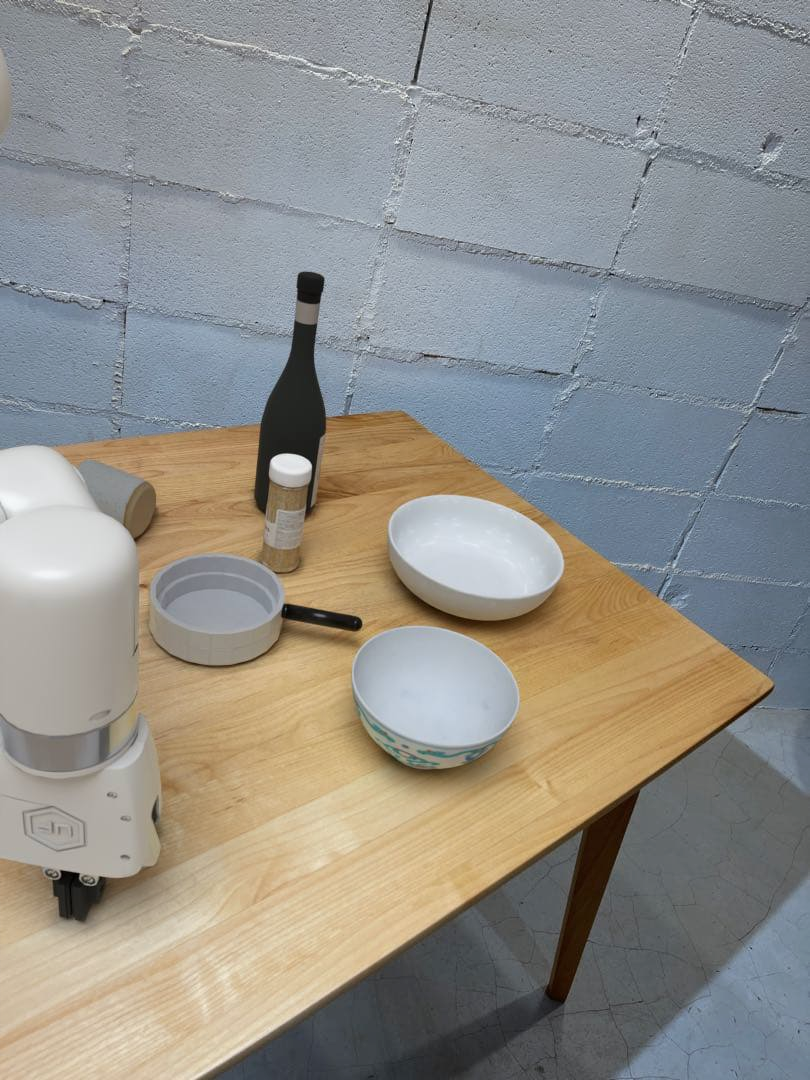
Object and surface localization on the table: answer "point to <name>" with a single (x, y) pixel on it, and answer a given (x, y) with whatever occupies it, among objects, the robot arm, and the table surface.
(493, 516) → the serving bowl
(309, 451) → the wine bottle
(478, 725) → the chinaware
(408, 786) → the table surface
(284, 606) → the pan handle
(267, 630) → the pan
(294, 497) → the spice jar
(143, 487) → the ceramic mug
